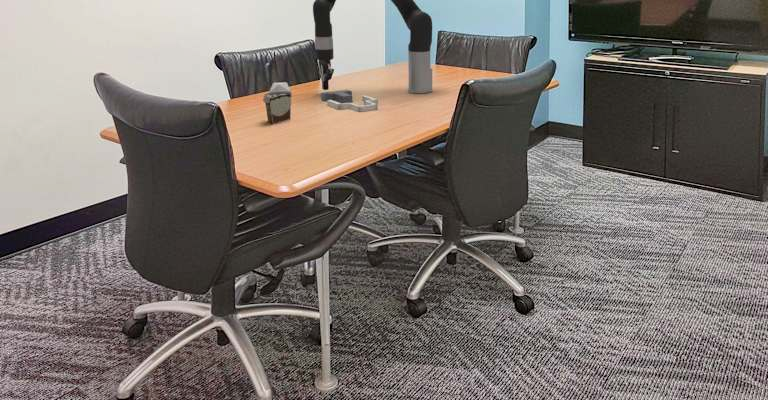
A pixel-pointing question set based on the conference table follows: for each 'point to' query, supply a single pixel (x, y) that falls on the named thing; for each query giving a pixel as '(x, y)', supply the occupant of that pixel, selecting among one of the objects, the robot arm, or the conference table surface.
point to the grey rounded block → (280, 87)
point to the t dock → (368, 105)
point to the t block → (338, 96)
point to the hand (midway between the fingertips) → (325, 89)
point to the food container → (278, 106)
